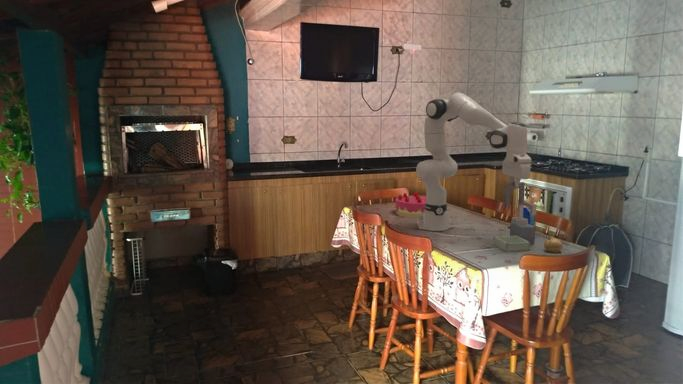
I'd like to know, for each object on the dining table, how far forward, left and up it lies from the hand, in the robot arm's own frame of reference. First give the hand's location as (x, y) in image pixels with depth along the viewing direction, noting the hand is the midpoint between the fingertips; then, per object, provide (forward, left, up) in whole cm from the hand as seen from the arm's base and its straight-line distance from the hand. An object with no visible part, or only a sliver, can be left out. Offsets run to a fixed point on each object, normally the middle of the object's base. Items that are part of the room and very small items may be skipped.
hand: (514, 186), depth 242 cm
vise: (-8, +10, -30) cm, 33 cm away
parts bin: (0, 0, -30) cm, 30 cm away
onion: (+10, +16, -30) cm, 36 cm away
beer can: (-19, +18, -30) cm, 40 cm away
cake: (-83, -21, -31) cm, 91 cm away
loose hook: (0, 0, -9) cm, 9 cm away
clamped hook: (-5, +10, -22) cm, 25 cm away
